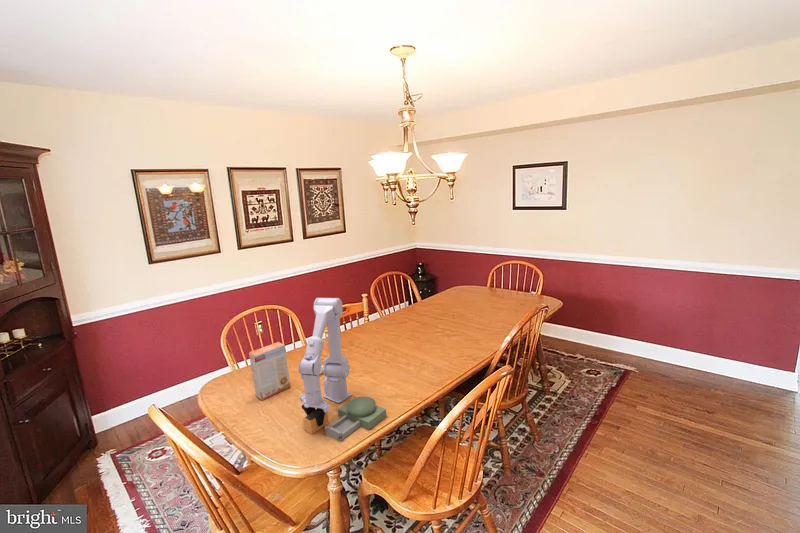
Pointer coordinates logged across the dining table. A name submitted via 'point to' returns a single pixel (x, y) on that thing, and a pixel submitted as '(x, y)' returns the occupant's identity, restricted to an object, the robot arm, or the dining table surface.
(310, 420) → the orange-framed grey panel
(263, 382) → the cracker box
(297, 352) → the dining table surface
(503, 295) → the dining table surface
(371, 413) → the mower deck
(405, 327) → the dining table surface
